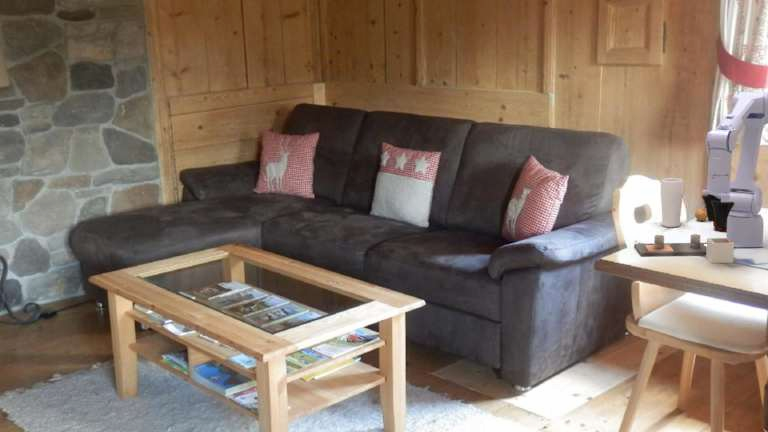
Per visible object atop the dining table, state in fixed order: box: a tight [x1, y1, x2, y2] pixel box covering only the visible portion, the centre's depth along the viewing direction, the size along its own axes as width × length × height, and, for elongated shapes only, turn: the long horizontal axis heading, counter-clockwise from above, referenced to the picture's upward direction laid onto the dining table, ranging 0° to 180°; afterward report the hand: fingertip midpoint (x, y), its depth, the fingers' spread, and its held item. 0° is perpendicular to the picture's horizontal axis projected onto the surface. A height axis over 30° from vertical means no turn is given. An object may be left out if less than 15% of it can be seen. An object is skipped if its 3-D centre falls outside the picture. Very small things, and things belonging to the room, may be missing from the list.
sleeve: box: [705, 237, 735, 264], centre depth 232 cm, size 6×6×6 cm
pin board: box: [633, 233, 707, 257], centre depth 243 cm, size 22×10×4 cm, turn 84°
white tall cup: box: [660, 177, 684, 228], centre depth 270 cm, size 7×7×15 cm
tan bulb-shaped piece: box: [694, 199, 708, 222], centre depth 275 cm, size 8×6×12 cm
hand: (716, 224), depth 230 cm, fingers open, 7 cm apart
